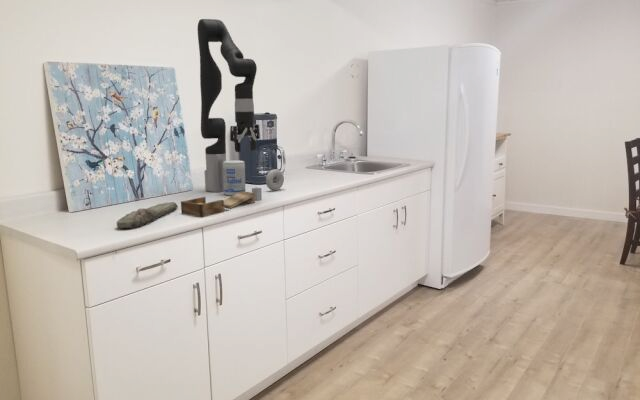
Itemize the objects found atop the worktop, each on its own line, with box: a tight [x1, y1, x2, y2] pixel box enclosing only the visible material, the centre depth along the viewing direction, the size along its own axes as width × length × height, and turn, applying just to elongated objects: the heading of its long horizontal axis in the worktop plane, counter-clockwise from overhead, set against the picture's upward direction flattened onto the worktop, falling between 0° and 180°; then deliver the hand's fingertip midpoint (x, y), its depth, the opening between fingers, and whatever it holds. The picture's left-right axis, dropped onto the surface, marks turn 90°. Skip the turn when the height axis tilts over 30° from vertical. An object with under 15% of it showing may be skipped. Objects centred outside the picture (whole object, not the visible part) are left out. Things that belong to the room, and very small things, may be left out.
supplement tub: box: [223, 159, 246, 197], centre depth 227 cm, size 10×10×15 cm
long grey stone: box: [116, 201, 178, 229], centre depth 184 cm, size 35×5×10 cm
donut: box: [265, 168, 285, 191], centre depth 236 cm, size 10×4×10 cm, turn 136°
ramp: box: [223, 191, 256, 209], centre depth 206 cm, size 14×7×4 cm, turn 144°
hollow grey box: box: [251, 186, 263, 202], centre depth 215 cm, size 3×3×5 cm
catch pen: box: [180, 196, 225, 218], centre depth 192 cm, size 11×11×4 cm
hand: (245, 151), depth 207 cm, fingers open, 8 cm apart
